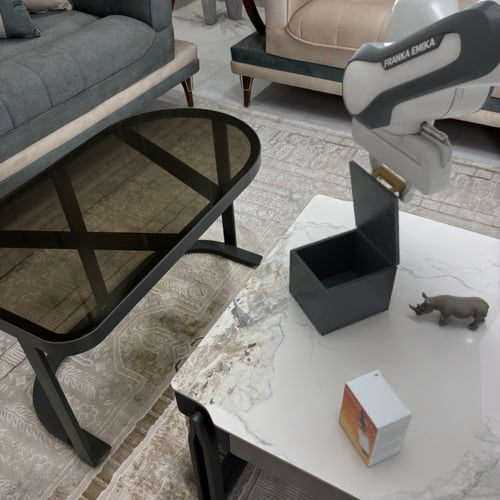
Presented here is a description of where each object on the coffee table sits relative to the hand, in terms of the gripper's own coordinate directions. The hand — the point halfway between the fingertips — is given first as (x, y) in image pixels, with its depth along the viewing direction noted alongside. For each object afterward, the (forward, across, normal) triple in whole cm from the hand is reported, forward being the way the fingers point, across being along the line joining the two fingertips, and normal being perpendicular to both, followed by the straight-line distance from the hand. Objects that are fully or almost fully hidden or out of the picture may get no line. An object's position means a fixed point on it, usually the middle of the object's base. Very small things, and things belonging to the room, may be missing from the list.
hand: (390, 188), depth 83 cm
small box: (+23, -26, +19) cm, 39 cm away
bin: (+23, 0, +8) cm, 24 cm away
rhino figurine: (+23, -13, -7) cm, 27 cm away
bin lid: (+4, 0, +3) cm, 5 cm away
